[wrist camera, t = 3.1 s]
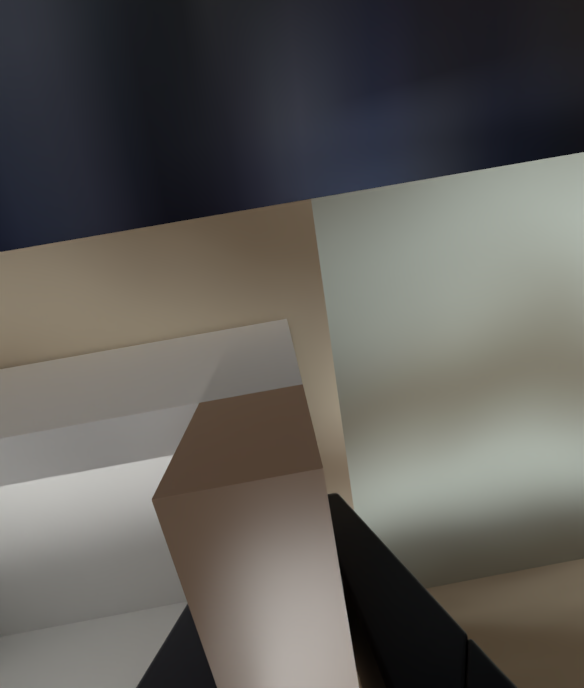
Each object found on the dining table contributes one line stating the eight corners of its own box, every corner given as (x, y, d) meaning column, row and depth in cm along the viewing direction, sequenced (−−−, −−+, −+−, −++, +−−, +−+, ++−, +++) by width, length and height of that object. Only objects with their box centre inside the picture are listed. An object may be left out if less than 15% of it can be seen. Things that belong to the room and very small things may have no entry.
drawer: (331, 573, 10) (403, 957, 4) (3, 635, 10) (-333, 1110, 4) (286, 318, 7) (323, 467, 2) (-139, 394, 7) (-1198, 747, 2)
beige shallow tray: (748, 517, 12) (985, 646, 8) (14, 656, 11) (-120, 866, 7) (865, 109, 8) (1401, -23, 4) (-201, 292, 8) (-673, 329, 4)
